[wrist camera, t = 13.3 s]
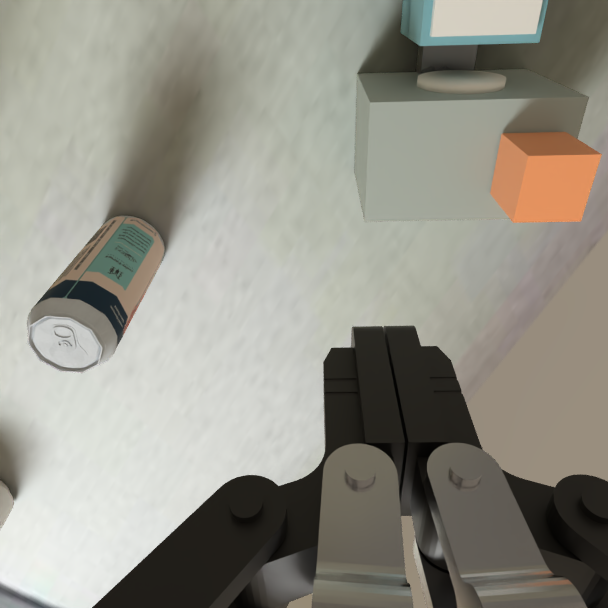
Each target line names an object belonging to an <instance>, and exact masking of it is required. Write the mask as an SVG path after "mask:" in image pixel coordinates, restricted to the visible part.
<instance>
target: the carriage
mask: <svg viewBox="0 0 608 608" xmlns="http://www.w3.org/2000/svg"><path fill="white" fill-rule="evenodd" d="M547 4H548V0H403V5H402V19H401V34H403V35H404V36H406V37H407V38H409V39H410V40H412V41H413V42H415V43H416V44H418V45H419V46H442V45H477V44H512V43H539V42H540V37H541V32H542V28H543V23H544V18H545V14H546V9H547Z"/></svg>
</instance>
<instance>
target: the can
mask: <svg viewBox="0 0 608 608" xmlns="http://www.w3.org/2000/svg"><path fill="white" fill-rule="evenodd" d="M13 505H14V501H13V497H12V495H11V493H10V490H9V488H8V487H7V486H6V484H5V483H3V482H2V481H1V480H0V530H1V528H2V526H3V524H4V523H5V521H6V519H7V517H8V516H9V514H10V512H11V510H12V508H13Z"/></svg>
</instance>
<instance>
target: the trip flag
mask: <svg viewBox="0 0 608 608" xmlns="http://www.w3.org/2000/svg"><path fill="white" fill-rule="evenodd" d="M601 155H602V154H600V153H599V152H597V151H595V150H594V149H592V148H591V147H589V146H587V145H586V144H584V143H583V142H581V141H580V140H578V139H576V138H575V137H573V136H572V135H570V134H568V133H567V132H536V133H502V134H501V139H500V144H499V149H498V154H497V160H496V165H495V170H494V175H493V180H492V185H491V191H490V194H491V196H492V197H493V198H494V199H495V201H496V202H497V203H498V204H499V206H500V207H501V208H502V209H503V211H504V212H505V213H506V214H507V216H508V217H509V218H510V219H511V221H512V222H513V223H515V222H570V221H581V219H582V216H583V213H584V210H585V206H586V203H587V200H588V197H589V193H590V190H591V187H592V184H593V181H594V177H595V174H596V171H597V168H598V165H599V161H600V158H601Z"/></svg>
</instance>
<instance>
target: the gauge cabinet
mask: <svg viewBox="0 0 608 608" xmlns="http://www.w3.org/2000/svg"><path fill="white" fill-rule="evenodd" d="M588 99H589V97H588V96H586V95H583V94H581V93H579V92H577V91H574V90H572V89H570V88H568V87H565V86H563V85H561V84H559V83H557V82H554V81H552V80H550V79H548V78H545V77H543V76H541V75H539V74H536V73H534V72H532V71H530V70H527V69H505V70H474V71H473V70H444V71H433V72H427V73H423V74H420V75H419V74H418V73H417V72H394V73H357V99H356V132H355V165H354V173H355V177H356V182H357V187H358V192H359V197H360V202H361V207H362V212H363V217H364V221H365V222H383V221H438V220H493V219H510V218H509V217H508V216H507V214H506V213H505V212H504V211H503V209H502V208H501V207H500V206H499V204H498V203H497V202H496V201H495V199H494V198H493V197H492V196H491V194H490V191H491V185H492V180H493V175H494V170H495V165H496V160H497V154H498V149H499V144H500V139H501V134H502V133H536V132H567V133H568V134H570V135H572V136H573V137H575V138H576V139H577V138H578V134H579V131H580V127H581V124H582V120H583V116H584V113H585V109H586V106H587V102H588Z"/></svg>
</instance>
